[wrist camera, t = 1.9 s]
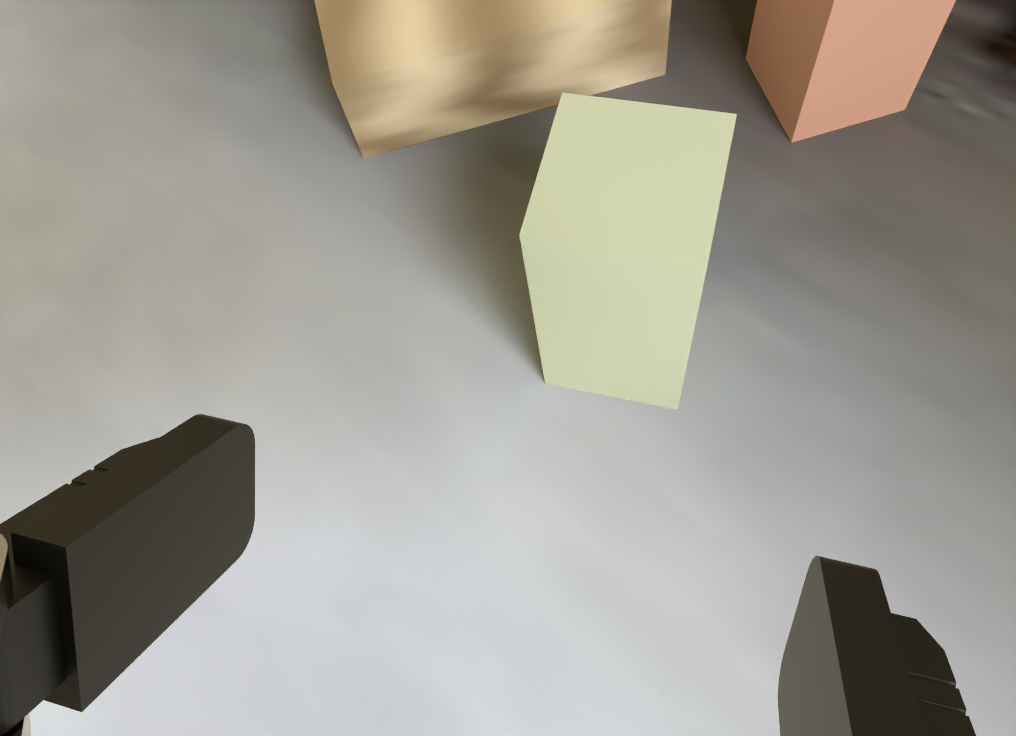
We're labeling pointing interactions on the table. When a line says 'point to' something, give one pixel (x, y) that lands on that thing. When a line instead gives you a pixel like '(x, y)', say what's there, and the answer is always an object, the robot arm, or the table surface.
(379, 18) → the birch plinth block
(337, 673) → the table surface
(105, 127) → the table surface
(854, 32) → the clay-red block
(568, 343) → the sage-green block
